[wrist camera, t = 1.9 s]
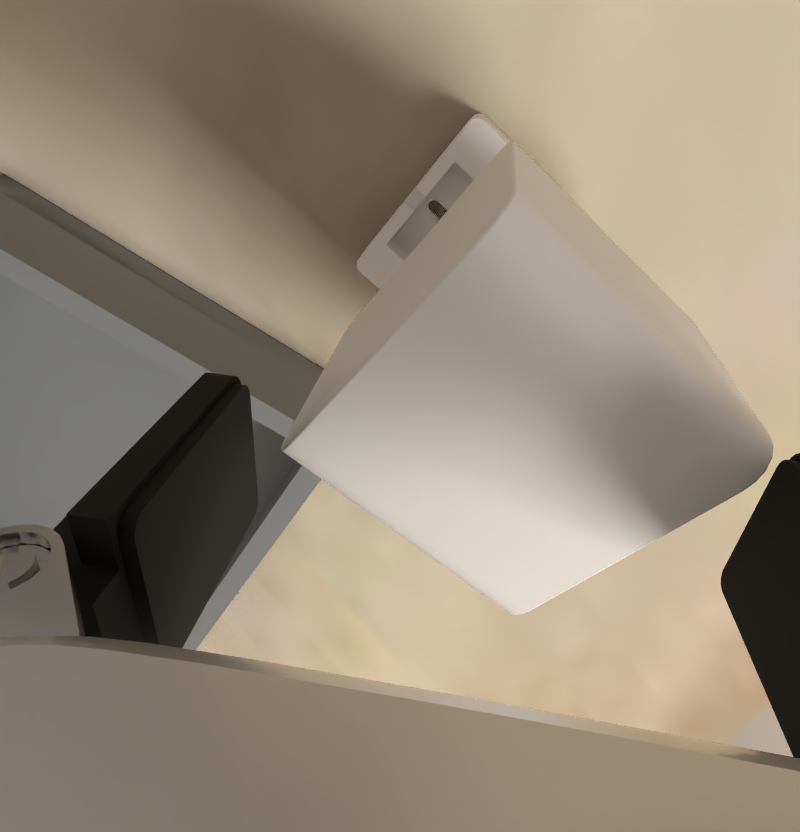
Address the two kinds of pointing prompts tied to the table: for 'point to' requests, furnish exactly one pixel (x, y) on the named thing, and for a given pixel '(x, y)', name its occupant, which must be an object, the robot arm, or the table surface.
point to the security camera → (521, 387)
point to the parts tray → (124, 375)
